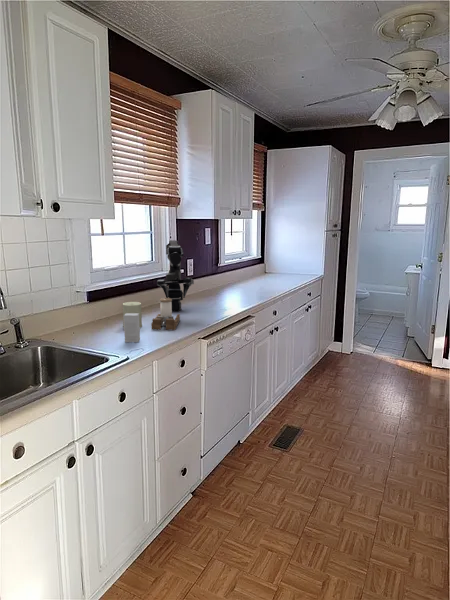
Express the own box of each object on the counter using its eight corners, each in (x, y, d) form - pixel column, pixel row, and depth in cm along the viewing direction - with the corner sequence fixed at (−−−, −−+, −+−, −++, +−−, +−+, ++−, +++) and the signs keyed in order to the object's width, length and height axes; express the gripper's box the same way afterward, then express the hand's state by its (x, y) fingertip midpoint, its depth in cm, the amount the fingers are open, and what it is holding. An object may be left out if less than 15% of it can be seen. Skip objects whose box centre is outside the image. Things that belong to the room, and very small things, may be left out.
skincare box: (140, 339, 184) (139, 313, 181) (138, 342, 179) (137, 315, 177) (126, 339, 183) (125, 313, 181) (124, 342, 179) (123, 315, 177)
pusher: (157, 324, 207) (157, 316, 206) (173, 325, 207) (173, 316, 206) (154, 329, 199) (154, 320, 199) (171, 329, 199) (171, 320, 198)
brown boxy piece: (158, 319, 220) (158, 310, 219) (179, 319, 220) (179, 310, 219) (151, 329, 200) (151, 319, 199) (175, 329, 200) (175, 319, 199)
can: (123, 329, 200) (122, 304, 198) (122, 324, 209) (121, 301, 206) (142, 328, 202) (142, 304, 200) (141, 323, 211) (140, 300, 209)
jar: (157, 324, 210) (157, 299, 207) (166, 322, 214) (165, 297, 212) (166, 326, 206) (165, 300, 204) (174, 324, 211) (174, 298, 208)
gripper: (152, 267, 215) (153, 297, 213) (187, 264, 211) (188, 295, 209) (160, 271, 225) (160, 300, 224) (193, 269, 222) (194, 298, 220)
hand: (175, 298), depth 219 cm, fingers open, 9 cm apart
